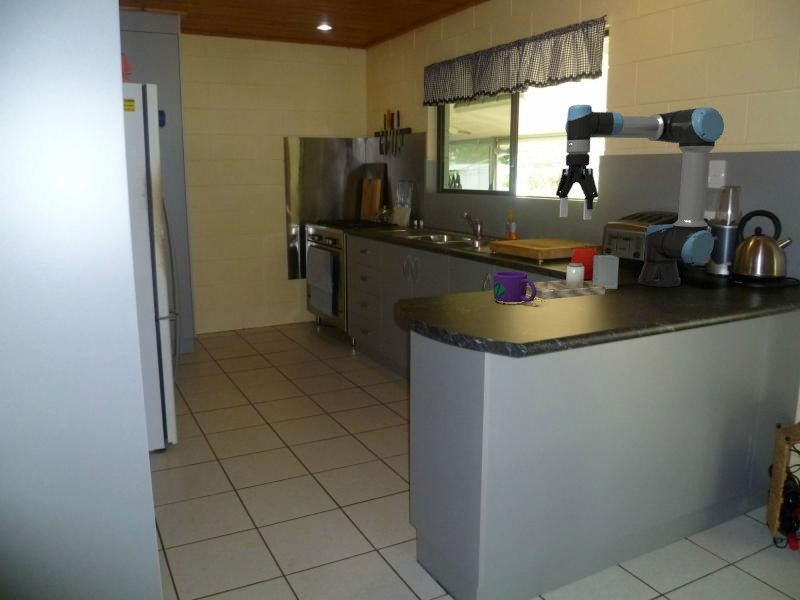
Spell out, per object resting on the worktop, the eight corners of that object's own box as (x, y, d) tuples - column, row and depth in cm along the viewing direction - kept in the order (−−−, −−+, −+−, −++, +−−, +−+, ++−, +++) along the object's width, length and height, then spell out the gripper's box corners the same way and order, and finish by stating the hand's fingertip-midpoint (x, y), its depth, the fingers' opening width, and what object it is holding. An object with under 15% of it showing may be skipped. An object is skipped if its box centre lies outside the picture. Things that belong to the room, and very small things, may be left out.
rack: (575, 288, 244) (575, 279, 243) (604, 296, 227) (605, 287, 227) (516, 293, 235) (517, 283, 235) (543, 302, 219) (543, 292, 218)
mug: (485, 301, 221) (486, 273, 219) (509, 297, 228) (509, 269, 226) (523, 310, 207) (524, 279, 205) (547, 305, 214) (548, 275, 212)
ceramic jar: (576, 289, 237) (577, 262, 235) (586, 291, 231) (587, 264, 229) (562, 290, 235) (563, 263, 233) (572, 293, 229) (573, 265, 227)
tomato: (590, 277, 267) (591, 243, 264) (606, 282, 256) (608, 246, 254) (563, 279, 263) (564, 245, 260) (579, 284, 253) (581, 248, 250)
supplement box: (617, 291, 237) (619, 257, 234) (597, 291, 237) (599, 257, 235) (611, 287, 244) (613, 254, 242) (591, 288, 244) (593, 254, 242)
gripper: (547, 154, 223) (545, 216, 228) (591, 152, 200) (588, 221, 205) (565, 154, 226) (563, 215, 230) (611, 152, 203) (608, 220, 207)
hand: (575, 218), depth 217 cm, fingers open, 13 cm apart
